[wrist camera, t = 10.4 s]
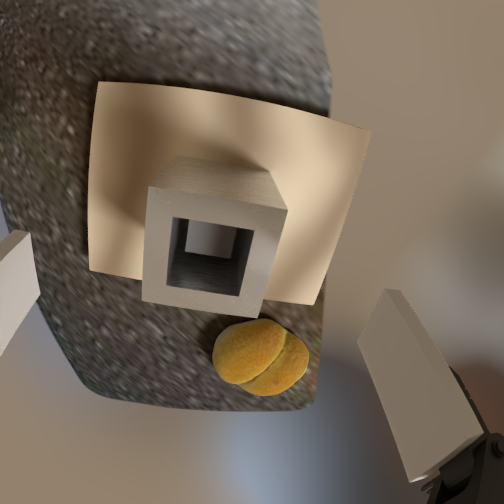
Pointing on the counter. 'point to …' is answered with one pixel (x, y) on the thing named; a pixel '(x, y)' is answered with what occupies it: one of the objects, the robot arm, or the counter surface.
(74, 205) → the counter surface
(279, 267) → the block
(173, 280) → the hollow square tube
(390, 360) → the robot arm
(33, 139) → the counter surface
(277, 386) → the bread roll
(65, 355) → the counter surface
